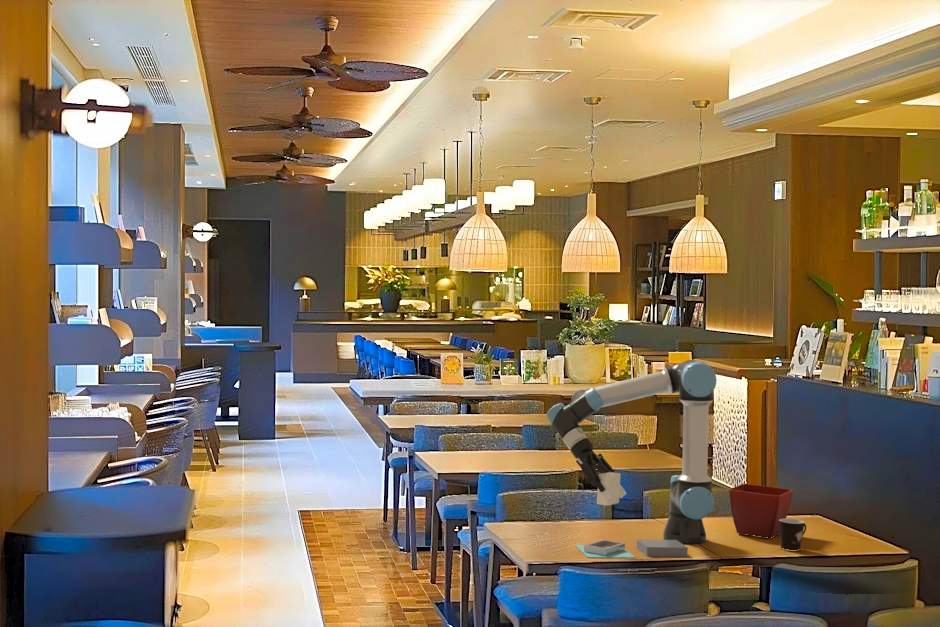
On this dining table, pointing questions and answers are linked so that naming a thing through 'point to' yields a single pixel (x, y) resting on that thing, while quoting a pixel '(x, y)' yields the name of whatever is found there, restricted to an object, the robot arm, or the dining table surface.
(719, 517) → the dining table surface
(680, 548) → the plate
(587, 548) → the holder
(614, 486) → the block
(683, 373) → the robot arm
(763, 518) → the plant pot
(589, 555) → the mat
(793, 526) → the coffee mug
